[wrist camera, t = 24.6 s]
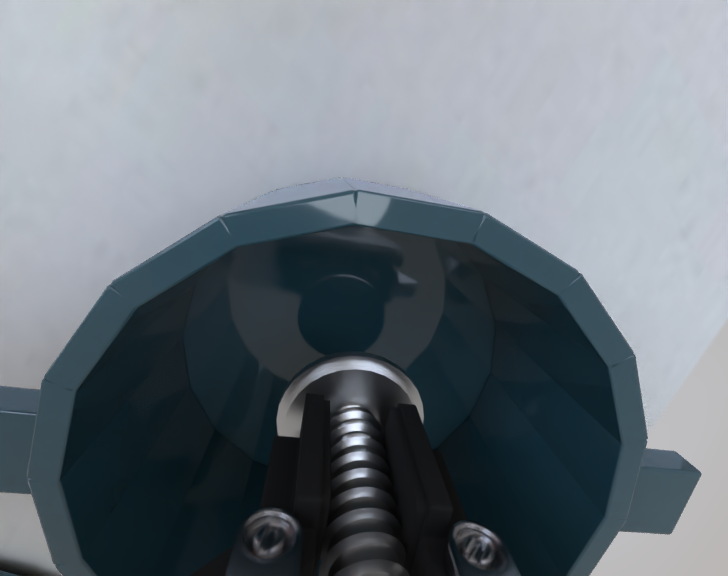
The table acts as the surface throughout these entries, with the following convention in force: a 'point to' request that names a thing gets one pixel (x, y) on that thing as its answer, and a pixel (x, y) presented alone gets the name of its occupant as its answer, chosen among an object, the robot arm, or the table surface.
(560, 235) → the table surface
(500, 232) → the pot
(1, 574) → the lid
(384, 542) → the screw
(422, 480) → the robot arm
